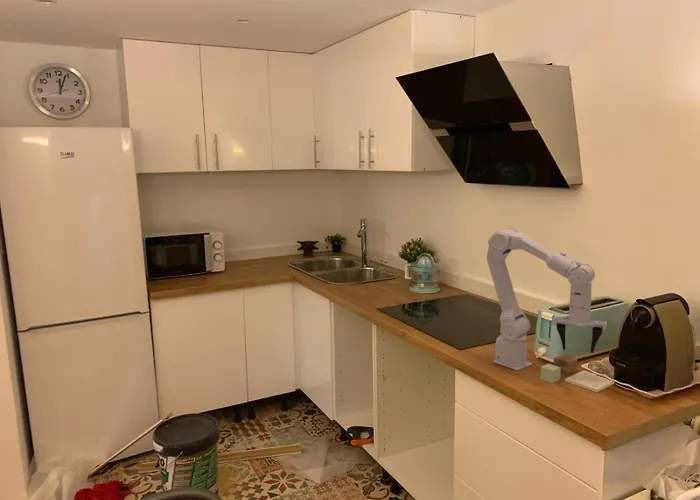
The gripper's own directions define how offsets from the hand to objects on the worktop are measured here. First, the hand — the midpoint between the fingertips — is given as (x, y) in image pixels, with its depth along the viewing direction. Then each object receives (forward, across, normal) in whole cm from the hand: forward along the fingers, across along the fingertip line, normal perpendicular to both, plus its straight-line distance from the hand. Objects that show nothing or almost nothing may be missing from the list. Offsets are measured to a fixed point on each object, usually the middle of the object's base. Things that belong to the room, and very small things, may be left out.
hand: (577, 350), depth 157 cm
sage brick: (+9, -7, -3) cm, 12 cm away
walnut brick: (+9, -3, +6) cm, 11 cm away
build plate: (+9, +4, -2) cm, 10 cm away
